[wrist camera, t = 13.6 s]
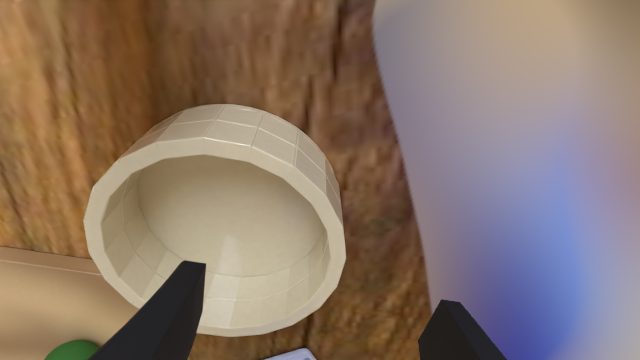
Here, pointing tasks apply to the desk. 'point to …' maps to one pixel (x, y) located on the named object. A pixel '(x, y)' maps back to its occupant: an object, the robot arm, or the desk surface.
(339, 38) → the desk surface
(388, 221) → the desk surface
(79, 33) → the desk surface
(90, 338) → the cutting board
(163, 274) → the pot
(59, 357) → the cucumber
